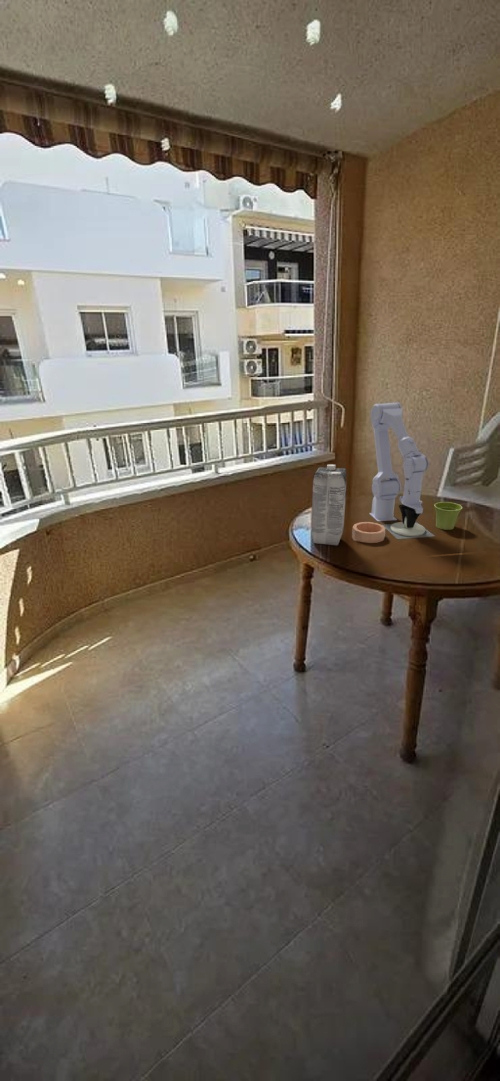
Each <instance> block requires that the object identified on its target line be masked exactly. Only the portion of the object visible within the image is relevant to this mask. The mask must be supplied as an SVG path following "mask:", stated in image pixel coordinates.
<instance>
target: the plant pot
mask: <svg viewBox="0 0 500 1081" xmlns="http://www.w3.org/2000/svg"><path fill="white" fill-rule="evenodd" d="M433 506H434V509H435V527H436V528H438V529H441V530H446V531H447V530H448V531H451V530H453V529H454V528H455V525H456V523H457V520H458V518H459V515H460V512H461V511H462V509H463V506H462V505H461V504H458V503H455V502H450V501H442V502H439V501H438V502H436V503H434V504H433Z"/></svg>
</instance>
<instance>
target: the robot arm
mask: <svg viewBox="0 0 500 1081" xmlns="http://www.w3.org/2000/svg"><path fill="white" fill-rule="evenodd" d="M403 414H404V410H403V407H402V405H401V403H400V402H397V401H396V402H387V403H374V404H373V406H372V407H371V410H370V421H371V428H372V429H373V437H374V445H375V454H376V465H377V474H376V475H375V476H374V477H373V478H372V481H371V482H372V484H371V491H372V492H371V493H372V495H373V498H372V502H371V512H369V515H370V516H371V517H372V518H373V519H375V520H376V521H377V522H387V521H398V519H397V518H396V517H395V516H394V513H395V511H394V510H395V506H396V505H395V503H396V498H397V497H398V495H399V498H398V499H399V502H401V504H399V505H398V508H399V510H400V514H401V520H402V521H401V522H403V524H404V521H405V517H407V528H413V527H414V524H415V522H417V519H418V518H419V517H420V516H421V515H422V514H423V512H424V507H423V506H422V504H423V501H422V500H421V493H422V484H423V478H424V472H426V471H427V470H428V467H429V460H428V457H427V456H426V455H424V454H423V452H420V450H419V448H418V446H417V443H416V442H415V440H414V438H413V437H411V436H409V434H408V430H407V429H406V426H405V423H404V420H403ZM390 428H391V430H392V432H393V434H395V437H396V439H397V440H398V442H397V448H398V451H399V452H400V455H401V457H402V459H403V462H402V468H403V469H402V470H403V476H404V487H403V492H402V493H403V495H400V493H401V491H402V484H401V482H400V476H399V475H398V474H397V473H395V472H394V471H393V464H392V453H391V445H390V444H391V443H390V437H389V436H390V435H389V430H390Z"/></svg>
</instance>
